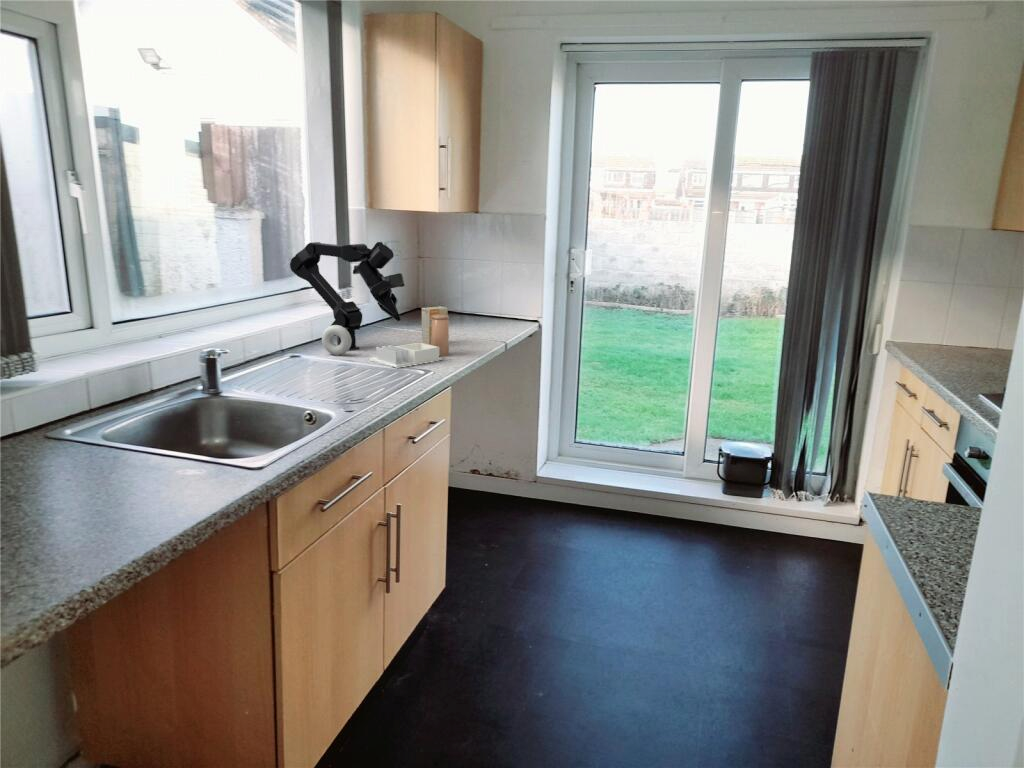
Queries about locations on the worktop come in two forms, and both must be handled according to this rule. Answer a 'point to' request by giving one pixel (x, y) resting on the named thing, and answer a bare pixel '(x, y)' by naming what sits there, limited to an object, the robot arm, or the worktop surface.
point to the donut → (343, 336)
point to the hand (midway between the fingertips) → (397, 317)
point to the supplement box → (430, 322)
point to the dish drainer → (407, 354)
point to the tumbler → (440, 333)
